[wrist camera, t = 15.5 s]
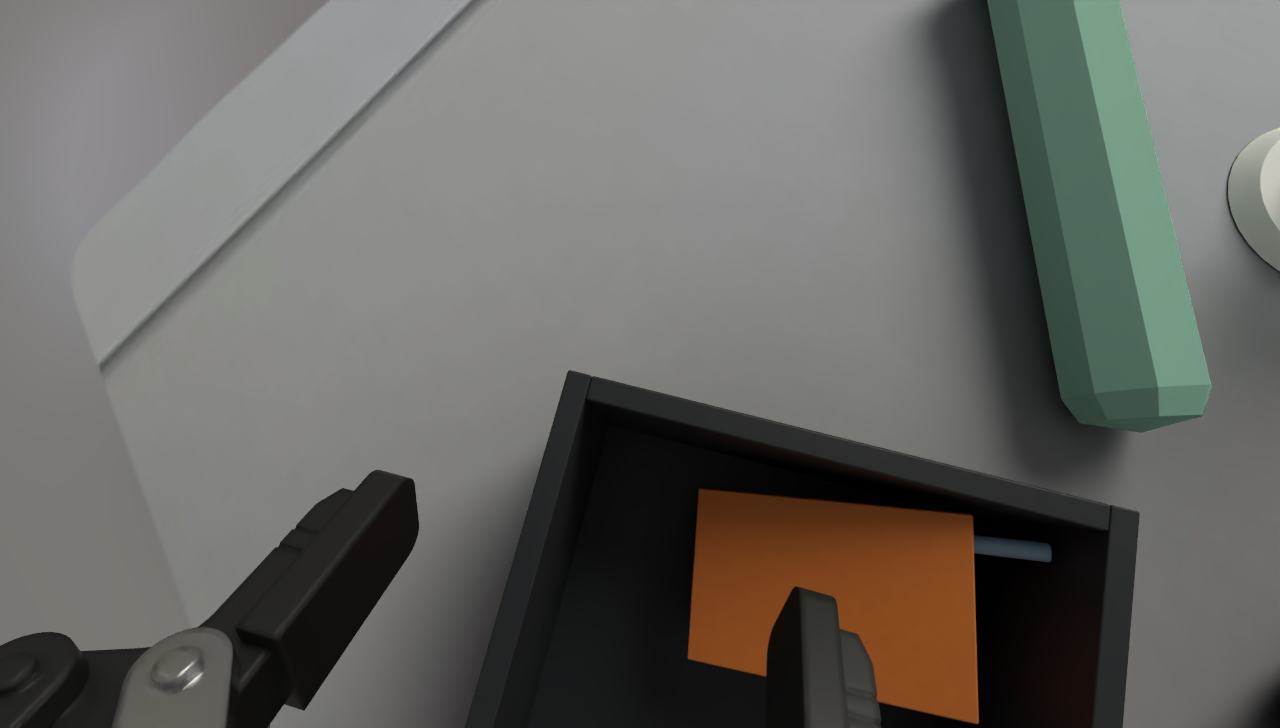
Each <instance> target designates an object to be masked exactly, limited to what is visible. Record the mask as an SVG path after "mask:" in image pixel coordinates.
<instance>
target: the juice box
mask: <svg viewBox="0 0 1280 728" xmlns="http://www.w3.org/2000/svg"><path fill="white" fill-rule="evenodd" d="M974 553H975V554H984V555H992V556H1000V557H1009V558H1017V559H1025V560H1034V561H1042V562H1050V561H1051V559H1052V550H1051V547H1050V545H1049V544H1048V543H1042V542H1033V541H1024V540H1015V539H1005V538H996V537H987V536H978V535H974V530H973V516H972V515H971V514H966V513H960V512H953V511H942V510H932V509H922V508H911V507H901V506H890V505H880V504H870V503H859V502H849V501H838V500H828V499H818V498H807V497H797V496H786V495H776V494H766V493H755V492H745V491H734V490H723V489H706V488H700V489H699V490H698V505H697V520H696V534H695V549H694V564H693V578H692V593H691V608H690V623H689V637H688V652H687V659H689V660H693V661H697V662H702V663H706V664H710V665H715V666H719V667H724V668H728V669H733V670H737V671H742V672H746V673H750V674H755V675H759V676H764V677H766V665H767V649H768V643H769V638H770V634H771V631H772V628H773V626H774V624H775V622H776V620H777V618H778V616H779V614H780V612H781V610H782V608H783V606H784V604H785V602H786V600H787V598H788V596H789V595H790V593H791V591H792V589H793V588H794V587H795V586H797V587H801V588H805V589H808V590H812V591H816V592H819V593H823V594H827V595H830V596H833V597H834V598H835V600H836V602H837V607H838V617H839V627H840V629H842V630H846V631H849V632H853V633H856V634H858V635H859V637H860V639H861V641H862V643H863V645H864V647H865V649H866V651H867V653H868V655H869V657H870V659H871V661H872V663H873V668H874V675H875V682H876V688H877V701H878V702H879V703H884V704H888V705H893V706H897V707H902V708H906V709H910V710H915V711H919V712H924V713H928V714H933V715H937V716H942V717H946V718H951V719H955V720H959V721H964V722H968V723H973V724H978V723H979V712H978V676H977V640H976V603H975V567H974Z"/></svg>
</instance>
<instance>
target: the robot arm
mask: <svg viewBox="0 0 1280 728" xmlns="http://www.w3.org/2000/svg"><path fill="white" fill-rule="evenodd" d="M418 531H419V520H418V511H417V502H416V492H415V484H414V481H413V480H412V479H410V478H407V477H403V476H400V475H396V474H392V473H389V472H385V471H381V470H375V471H373V472H371V473H370V474H369V475H368V476H367V477H366V478H365V479H364V480H363V481H362V483H361V484H360V485H359V486H358V487H357V488H356V489H355V491H352V490H348V489H344V488H342V489H340V490H339V491H337V492H335V493H334V494H332V495H330V496H329V497H327V498H325V499H324V500H322V501H320V502H319V503H317V504H316V505H315V506H314V507H313V508H312V509H311V510H310V511H309V512H308V513H307V514H306V515H305V516H304V518H303V519H302V520H301V521H300V522H299V523H298V524H297V525H296V528H295V529H294V530H293V529H292V530H291V531H290V533H289V534H288V535H287V536H286V537H285V538H284V539H283V540H282V541H281V542H280V545H279V547H278V548H277V547H276V548H275V549H274V550H273V551H272V552H271V553H270V554H269V555H268V556H267V557H266V558H265V559H264V560H263V561H262V563H261V564H260V565H259V566H258V567H257V568H256V569H255V570H254V571H253V572H252V573H251V574H250V575H249V576H248V578H247V579H246V580H245V581H244V582H243V583H242V584H241V585H240V586H239V587H238V588H237V589H236V590H235V591H234V593H233V594H232V595H231V596H230V597H229V598H228V599H227V600H226V601H225V602H224V603H223V604H222V605H221V606H220V608H219V609H218V610H217V611H216V612H215V613H214V614H213V615H212V616H211V617H210V618H209V619H208V620H206V621H205V622H204V623H202V624H201V625H200V626H199V627H197V628H192V629H188V630H184V631H181V632H178V633H175V634H173V635H171V636H168V637H167V638H165V639H163V640H161V641H159V642H158V643H156V644H155V645H154V646H152V647H147V648H135V649H117V650H97V651H80V650H79V649H78V647H77V646H76V645H75V644H74V642H73V641H72V640H71V639H70V638H69V637H67V636H66V635H63V634H60V633H54V632H42V633H35V634H31V635H27V636H23V637H20V638H17V639H15V640H12V641H10V642H7V643H5V644H3V645H1V646H0V728H270V723H271V722H272V720H273V719H274V717H275V716H276V714H277V713H278V712H279V710H280V709H281V707H282V706H283V705H284V704H286V705H289V706H292V707H295V708H298V709H301V710H305V709H306V707H307V706H308V704H309V703H310V701H311V700H312V698H313V697H314V695H315V694H316V692H317V691H318V689H319V688H320V686H321V685H322V683H323V682H324V680H325V679H326V677H327V676H328V674H329V673H330V671H331V670H332V669H333V667H334V666H335V664H336V663H337V661H338V660H339V658H340V657H341V655H342V654H343V652H344V651H345V649H346V648H347V646H348V645H349V643H350V642H351V640H352V639H353V637H354V636H355V634H356V633H357V632H358V630H359V629H360V627H361V626H362V624H363V623H364V621H365V620H366V618H367V617H368V615H369V614H370V612H371V611H372V609H373V608H374V606H375V605H376V603H377V602H378V600H379V599H380V597H381V596H382V594H383V593H384V592H385V590H386V589H387V587H388V586H389V584H390V583H391V581H392V580H393V578H394V577H395V575H396V574H397V572H398V571H399V569H400V568H401V566H402V565H403V563H404V562H405V560H406V559H407V557H408V556H409V554H410V553H411V551H412V549H413V547H414V544H415V542H416V539H417V536H418ZM880 723H881V716H880V709H879V702H878V701H877V688H876V682H875V675H874V668H873V663H872V661H871V659H870V657H869V655H868V653H867V651H866V649H865V647H864V645H863V643H862V641H861V639H860V637H859V635H858V634H856V633H853V632H849V631H846V630H842V629H840V627H839V617H838V607H837V602H836V600H835V598H834V597H833V596H830V595H827V594H823V593H819V592H816V591H812V590H808V589H805V588H801V587H797V586H795V587H794V588H793V589H792V591H791V593H790V595H789V596H788V598H787V600H786V602H785V604H784V606H783V608H782V610H781V612H780V614H779V616H778V618H777V620H776V622H775V624H774V626H773V628H772V631H771V634H770V638H769V643H768V649H767V665H766V727H765V728H882V727H881V725H880Z"/></svg>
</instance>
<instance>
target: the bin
mask: <svg viewBox="0 0 1280 728" xmlns="http://www.w3.org/2000/svg"><path fill="white" fill-rule="evenodd" d="M700 488H706V489H723V490H734V491H745V492H755V493H766V494H776V495H786V496H797V497H807V498H818V499H828V500H838V501H849V502H859V503H870V504H880V505H890V506H901V507H911V508H922V509H932V510H942V511H953V512H960V513H966V514H971V515H972V516H973V530H974V535H978V536H987V537H996V538H1005V539H1015V540H1024V541H1033V542H1042V543H1048V544H1049V545H1050V547H1051V550H1052V559H1051V561H1050V562H1042V561H1034V560H1025V559H1017V558H1009V557H1000V556H992V555H984V554H975V553H974V567H975V603H976V640H977V676H978V712H979V723H978V724H973V723H968V722H964V721H959V720H955V719H951V718H946V717H942V716H937V715H933V714H928V713H924V712H919V711H915V710H910V709H906V708H902V707H897V706H893V705H888V704H884V703H879V709H880V716H881V723H880V725H881V727H882V728H1122V727H1123V714H1124V702H1125V689H1126V676H1127V664H1128V651H1129V639H1130V626H1131V614H1132V601H1133V588H1134V576H1135V563H1136V551H1137V538H1138V525H1139V512H1137V511H1133V510H1129V509H1125V508H1121V507H1117V506H1113V505H1108V504H1104V503H1100V502H1096V501H1092V500H1088V499H1084V498H1080V497H1076V496H1072V495H1068V494H1064V493H1060V492H1056V491H1052V490H1048V489H1044V488H1040V487H1036V486H1032V485H1028V484H1024V483H1020V482H1016V481H1012V480H1008V479H1004V478H1000V477H996V476H992V475H988V474H984V473H980V472H976V471H972V470H968V469H964V468H960V467H956V466H952V465H948V464H944V463H940V462H936V461H932V460H928V459H924V458H920V457H916V456H912V455H908V454H904V453H900V452H896V451H892V450H888V449H884V448H880V447H876V446H872V445H868V444H864V443H860V442H856V441H852V440H848V439H844V438H840V437H836V436H832V435H828V434H824V433H820V432H816V431H812V430H808V429H803V428H799V427H795V426H791V425H787V424H783V423H779V422H775V421H771V420H767V419H763V418H759V417H755V416H751V415H747V414H743V413H739V412H735V411H731V410H727V409H723V408H719V407H715V406H711V405H707V404H703V403H699V402H695V401H691V400H687V399H683V398H679V397H675V396H671V395H667V394H663V393H659V392H655V391H651V390H647V389H643V388H639V387H635V386H631V385H627V384H623V383H619V382H615V381H611V380H607V379H603V378H599V377H595V376H594V377H591V376H590V375H587V374H583V373H579V372H575V371H571V370H569V371H568V373H567V376H566V380H565V383H564V387H563V390H562V393H561V397H560V400H559V404H558V407H557V411H556V414H555V418H554V421H553V425H552V428H551V432H550V435H549V438H548V442H547V445H546V449H545V452H544V456H543V459H542V463H541V466H540V470H539V473H538V476H537V480H536V483H535V487H534V490H533V494H532V497H531V501H530V504H529V508H528V511H527V515H526V518H525V521H524V525H523V528H522V532H521V535H520V539H519V542H518V546H517V549H516V553H515V556H514V559H513V563H512V566H511V570H510V573H509V577H508V580H507V584H506V587H505V591H504V594H503V598H502V601H501V604H500V608H499V611H498V615H497V618H496V622H495V625H494V629H493V632H492V636H491V639H490V642H489V646H488V649H487V653H486V656H485V660H484V663H483V667H482V670H481V674H480V677H479V681H478V684H477V687H476V691H475V694H474V698H473V701H472V705H471V708H470V712H469V715H468V719H467V722H466V726H465V728H765V727H766V677H764V676H759V675H755V674H750V673H746V672H742V671H737V670H733V669H728V668H724V667H719V666H715V665H710V664H706V663H702V662H697V661H693V660H689V659H687V652H688V637H689V623H690V608H691V593H692V578H693V564H694V549H695V534H696V520H697V505H698V490H699V489H700Z"/></svg>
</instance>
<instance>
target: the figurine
mask: <svg viewBox="0 0 1280 728" xmlns="http://www.w3.org/2000/svg"><path fill="white" fill-rule="evenodd" d="M1228 199H1229V204H1230V208H1231V213H1232V215H1233V218H1234V220H1235V222H1236V225H1237V227H1238V229H1239V231H1240V232H1241V234H1242V235H1243V237H1244V238H1245V240H1246V241H1247V243H1248V244H1249V245H1250V246H1251V247H1252V248H1253V249H1254V250H1255V251H1256V252H1257V254H1258V255H1259V256H1260V257H1261V258H1262V259H1264V260H1265V261H1266V262H1268V263H1269V264H1270V265H1271V266H1273V267H1274V268H1275V269H1277V270H1278V271H1280V128H1277V129H1275V130H1272V131H1269V132H1267V133H1264V134H1262V135H1261V136H1259V137H1258V138H1256V139H1254V140H1253V141H1251V142H1250V143H1249V144H1248V145H1247V146H1246V147H1245V148H1244V149H1243V150H1242V151H1241V152H1240V154H1239V155H1238V157H1237V159H1236V161H1235V162H1234V164H1233V166H1232V169H1231V173H1230V177H1229V180H1228Z"/></svg>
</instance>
